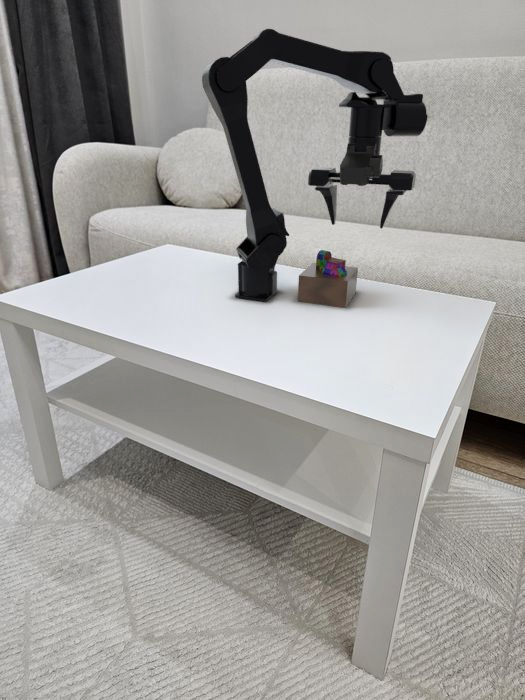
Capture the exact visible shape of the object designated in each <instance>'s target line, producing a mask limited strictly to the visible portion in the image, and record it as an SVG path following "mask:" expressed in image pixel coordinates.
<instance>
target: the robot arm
mask: <svg viewBox="0 0 525 700" xmlns="http://www.w3.org/2000/svg"><path fill="white" fill-rule="evenodd" d="M268 63H273V64H276V65H280V66H285V67H288V68H291V69H295V70H299V71H303V72H307V73H311V74H315V75H319V76H322V77H326V78H330V79H332V80H333V81H336V82H337V83H338V84H340V85H341V86H342V87H344V88H345V89H348V90H350V91H351V92H349V93H348V94H347V96H346V97H345V98H344V99H343V100H341V102H339V104H338V107H339V108H340V109H350V112H349V113H350V114H349V126H348V127H349V129H348V139H347V140H348V141H347V147H346V152H345V155H344V157H343V158H342V161H341V162H340V164H339V172H338V171H337V169H336V167H320V166H319V167H316V168H313V169H311V170H310V171H309V174H308V179H307V185H308V186H311V187H314V190H315V191H317V192H320V194H321V195H322V197H323V199H324V201H325V204H326V208H327V212H328V215H329V219H330V223H331V225H332V226H334V225H336V220H337V206H338V205H337V204H338V203H337V201H338V198H337V197H338V196H337V195H338V185H337V184H336V183H338V184H340V185H343V186H348V185H357V186H358V187H363V186H367V185H379V186H380V185H381V186H383V185H384V186H388V188H389V189H388V190H387V191H386V192H385V199H384V203H383V208H382V213H381V217H380V221H379V222H380V225H379V229H380V230H381V229H383V228H384V226H385V224H386V221H387V219H388V217H389V215H390V212H391V210H392V208H393V206H394V204H395V202H396V201H397V199H398V198H399V196H404V195H405V194H406V193H407V192H408V191H413V189H414V188H415V186H416V185H415V184H416V179H417V178H416V177H417V174H416V173H415V171H414V170H401V169H394V170H393V171H390V174H388V173H382V172H383V167H384V165H383V164H384V162H383V158H384V157H383V155H382V154H381V145H382V133H383V132H384V135H385V136H387V137H419V136H420V135H422V133H423V132H424V130H425V128H426V125H427V123H428V122H427V121H428V114H427V107H426V104H425V103H424V101H423V99H424V94H423V93H413V94H412V93H411V94H405V93H404V92H403V89H402V86H401V85H400V83H399V81H398V78H397V77H396V75H395V72H394V71H395V70H394V63H393V61H392V57H391V56H390V55H389V54H388V53H386V52H384V51H373V50H371V51H369V50H352V51H351V50H341V49H337V48H333V47H330V46H326V45H323V44H320V43H317V42H313V41H309V40H305V39H302V38H299V37H295V36H292V35H288V34H285V33H281V32H278V31H277V30H276V29H274V28H265V29H263V30H262V31H259V32H258V33H257V34H256V35H255V36H254V37H253V39H251V40H250V41H249V42H248V43H246V44H245V45H244V46H243V47H241V48H240V49H238V50H237V51H236V52H235V53H233V54H232V55H231V56H221V57H219V58H217V59H216V60H214V61H212V62H210V63H209V64H208V65H207V66H206V67H204V68H205V69H204V71H203V73H202V75H201V83H202V88H203V91H204V93H205V96H206V97H207V99H208V102H209V103H210V105H211V108H212V110H213V112H214V113H215V115H216V117H217V118H218V120H219V122H220V124H221V126H222V127H223V131H224V136H225V139H226V142H227V146H228V149H229V153H230V156H231V160H232V163H233V166H234V170H235V173H236V178H237V180H238V184H239V189H240V191H241V194H242V198H243V201H244V206H245V210H246V211H245V227H246V235H247V236H246V237H245V238H244V239H243V240H242V241H241V242H240V244H239V245H238V246H237V247H236V248H235V251H236V253H237V256H238V258H239V259H240V260H241V261H239V262H238V263H237V284H238V285H237V287H238V291H237V292H236V293H235V294H234V298H238V299H245V300H253V301H260V302H268V300H270V299H271V298H272V297H273V296H274V295H275V294H276V293H278V272H277V270H275V267H276V265H277V262H278V260H279V257H280V256H281V255H282V254H283V253H284V251H285V249H286V248H287V244H288V241H287V237H289V236H290V233H289V232H288V231H287V230H288V229H287V228H286V222H285V221H286V219H285V215H284V213H283V212H281V211H280V210H278V209H276V208H274V207H273V208H272V207H271V204H270V201H269V197H268V194H267V189H266V185H265V183H264V178H263V174H262V171H261V167H260V163H259V158H258V154H257V152H256V147H255V144H254V140H253V136H252V132H251V129H250V124H249V119H248V100H249V99H248V97H249V96H248V87H247V86H248V85H247V81H248V80H249V79H250V78H252V77H253V76H254V75H255V74H257V73H258V72H259V71H260V70H261V69H262V68H263V67H264V66H266V65H267V64H268ZM358 94H359V95H363V94H364V95H365V96H359V95H358ZM378 101H383V103H381V104H380V103H379V104H378Z"/></svg>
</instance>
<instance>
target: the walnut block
mask: <svg viewBox="0 0 525 700" xmlns="http://www.w3.org/2000/svg"><path fill="white" fill-rule="evenodd" d="M345 270H346V271H347V274H346V275H343V276H341V277H336V276H331V275H327V274H323V273H322V271H321V270H317V269H316V262H312V263H310V264H309V266H307V267H306V268H305V269H304V270H303V271H302V272H301V273H300V274H299V275H298V285H297V287H298V289H297V302H300V303H307V304H308V303H309V304H315V305H323V306H330V307H337V308H345V309H346V308H347V306H348V305H349V303H350V301H351V300H352V298H353V297H354V296H355V294H356V293H357V282H358V271H359V267H358V266H357V267H356V266H347V265H345Z"/></svg>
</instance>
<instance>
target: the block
mask: <svg viewBox="0 0 525 700" xmlns="http://www.w3.org/2000/svg"><path fill="white" fill-rule="evenodd" d="M332 256H333V255H332V252H331V251H329V250H325V249H320V250H319V251H318V253H317V254H316V259H315V260H316V261H315V263H316V269H317V270H321V271H322V273H323V274H327V275H331V276H336V277H341V276H343V275H346V274H347V271H346V270H345V266H346V262H347V260H346V259H343V258H342V259H341V258H337V257H332Z"/></svg>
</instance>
